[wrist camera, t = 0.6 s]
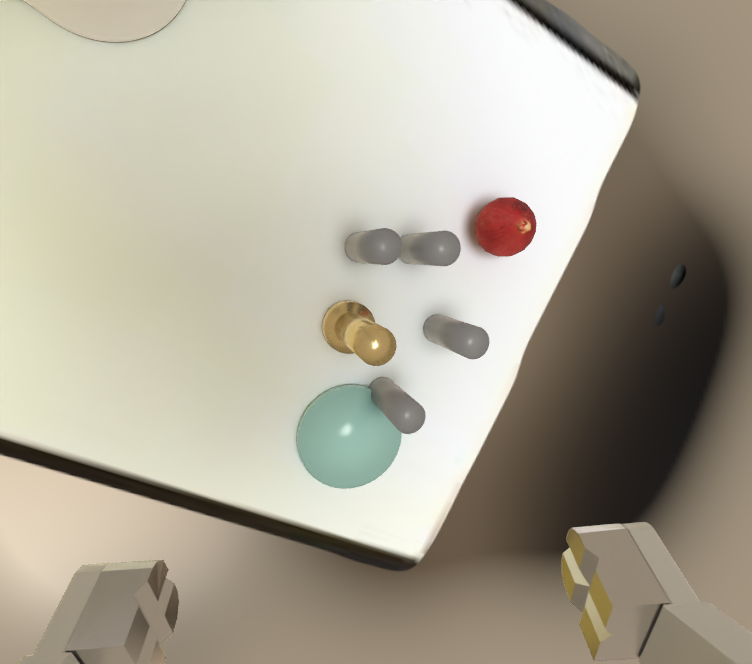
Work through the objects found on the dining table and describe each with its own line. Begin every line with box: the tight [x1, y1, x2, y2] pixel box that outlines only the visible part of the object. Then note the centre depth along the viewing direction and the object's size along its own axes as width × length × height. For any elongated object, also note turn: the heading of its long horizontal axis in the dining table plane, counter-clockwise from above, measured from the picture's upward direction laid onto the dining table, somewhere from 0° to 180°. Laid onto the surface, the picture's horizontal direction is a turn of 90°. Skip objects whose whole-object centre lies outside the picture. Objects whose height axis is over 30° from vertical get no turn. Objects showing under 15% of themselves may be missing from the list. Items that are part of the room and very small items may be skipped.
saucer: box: [297, 384, 401, 488], centre depth 52 cm, size 11×11×1 cm
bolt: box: [322, 301, 396, 366], centre depth 45 cm, size 5×5×12 cm
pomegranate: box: [476, 198, 536, 256], centre depth 49 cm, size 6×6×8 cm
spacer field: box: [345, 228, 489, 434], centre depth 47 cm, size 18×11×9 cm, turn 20°
